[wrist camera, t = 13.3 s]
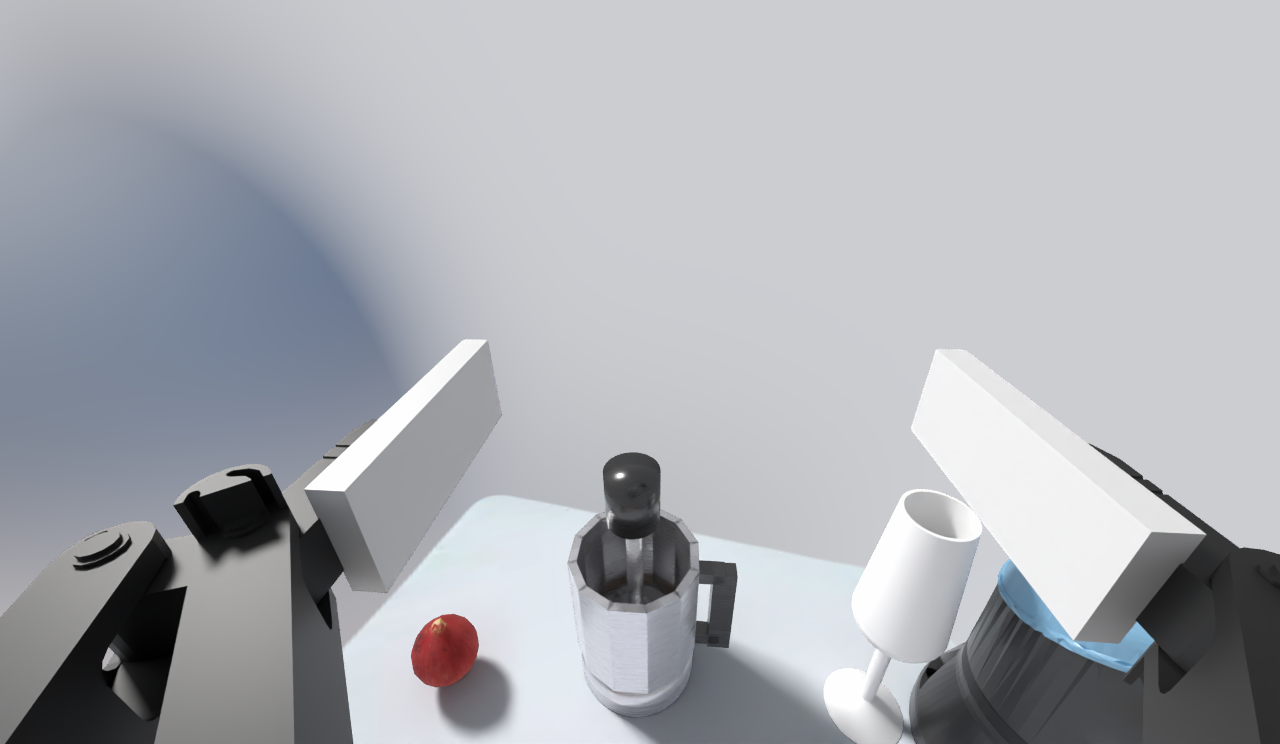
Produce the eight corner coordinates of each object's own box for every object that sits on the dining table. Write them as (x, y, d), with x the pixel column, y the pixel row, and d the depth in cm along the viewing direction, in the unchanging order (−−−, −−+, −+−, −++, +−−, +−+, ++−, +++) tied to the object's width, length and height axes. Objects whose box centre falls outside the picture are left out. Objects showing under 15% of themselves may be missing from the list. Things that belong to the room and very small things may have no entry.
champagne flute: (885, 770, 37) (985, 575, 26) (810, 704, 41) (867, 513, 30) (915, 707, 41) (1012, 514, 30) (843, 653, 45) (904, 467, 34)
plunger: (678, 592, 47) (684, 441, 38) (677, 674, 40) (684, 511, 31) (602, 587, 47) (589, 437, 38) (588, 666, 40) (568, 505, 31)
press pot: (721, 610, 50) (731, 509, 43) (730, 725, 40) (746, 620, 33) (593, 601, 51) (583, 502, 44) (572, 711, 41) (555, 607, 34)
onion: (414, 709, 42) (390, 658, 38) (431, 646, 47) (412, 596, 43) (478, 699, 42) (461, 648, 39) (488, 639, 47) (474, 589, 44)
